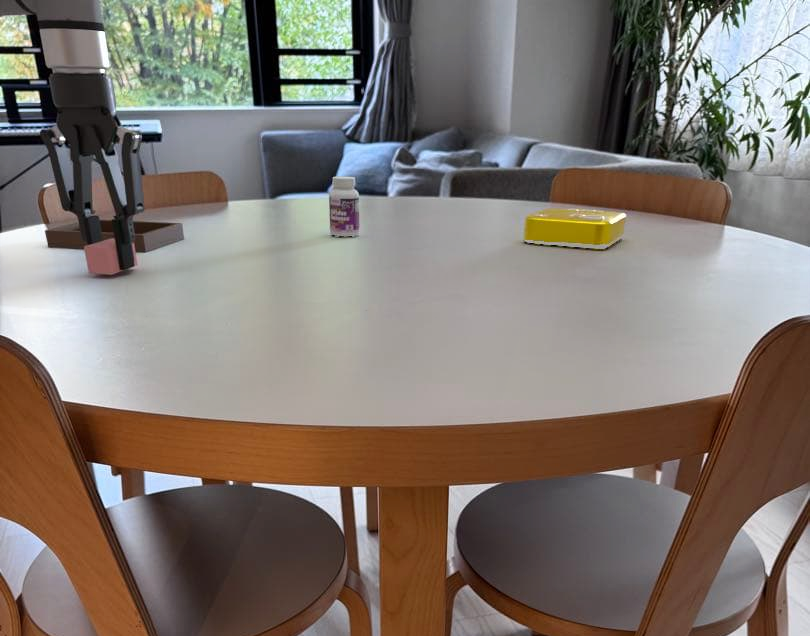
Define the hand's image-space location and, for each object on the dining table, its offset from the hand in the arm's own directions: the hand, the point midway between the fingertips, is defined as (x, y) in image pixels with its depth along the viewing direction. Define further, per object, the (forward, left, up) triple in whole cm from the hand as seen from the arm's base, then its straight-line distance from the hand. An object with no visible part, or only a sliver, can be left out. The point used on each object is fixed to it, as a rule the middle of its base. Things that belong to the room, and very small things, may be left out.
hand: (113, 266), depth 106 cm
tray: (-13, +23, -1) cm, 26 cm away
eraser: (0, 0, 0) cm, 0 cm away
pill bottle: (+22, +41, -1) cm, 47 cm away
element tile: (+63, +46, -1) cm, 78 cm away
